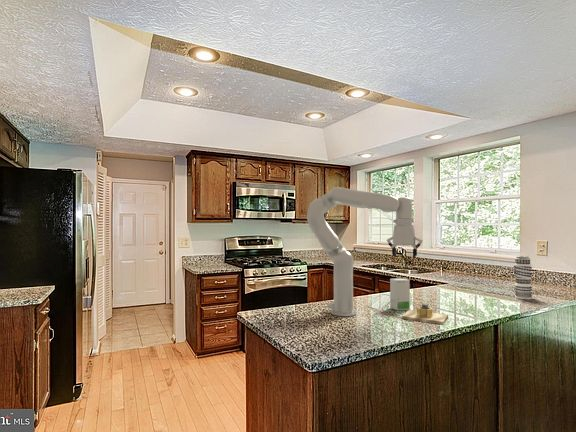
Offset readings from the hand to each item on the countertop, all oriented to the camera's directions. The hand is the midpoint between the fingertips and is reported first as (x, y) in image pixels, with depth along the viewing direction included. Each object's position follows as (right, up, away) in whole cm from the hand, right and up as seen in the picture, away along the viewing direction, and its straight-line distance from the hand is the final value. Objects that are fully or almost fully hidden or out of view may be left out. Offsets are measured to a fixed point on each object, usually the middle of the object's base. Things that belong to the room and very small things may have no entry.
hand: (404, 256), depth 171 cm
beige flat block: (+7, -28, -9) cm, 30 cm away
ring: (+7, -27, -9) cm, 29 cm away
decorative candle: (+84, -29, +35) cm, 95 cm away
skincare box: (+1, -29, +9) cm, 30 cm away
